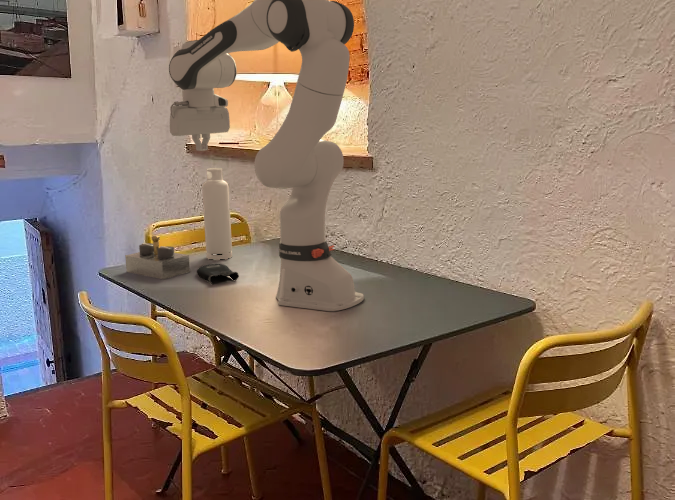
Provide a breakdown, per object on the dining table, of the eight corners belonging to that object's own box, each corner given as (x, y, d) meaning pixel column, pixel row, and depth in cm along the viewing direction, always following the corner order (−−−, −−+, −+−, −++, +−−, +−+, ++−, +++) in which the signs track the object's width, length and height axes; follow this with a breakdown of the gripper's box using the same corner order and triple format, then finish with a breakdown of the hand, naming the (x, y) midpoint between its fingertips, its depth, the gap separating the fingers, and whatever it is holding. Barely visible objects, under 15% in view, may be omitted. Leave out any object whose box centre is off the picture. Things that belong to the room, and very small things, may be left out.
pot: (162, 254, 201) (161, 236, 200) (156, 255, 199) (155, 237, 198) (157, 253, 202) (155, 235, 201) (151, 254, 200) (149, 236, 199)
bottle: (201, 257, 219) (195, 169, 213) (223, 253, 224) (218, 166, 218) (215, 261, 213) (210, 170, 207) (237, 257, 219) (232, 168, 212)
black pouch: (242, 286, 191) (224, 267, 204) (239, 268, 189) (221, 250, 201) (210, 295, 188) (193, 276, 200) (207, 277, 185) (190, 258, 198)
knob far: (160, 267, 204) (158, 243, 203) (148, 270, 201) (146, 246, 199) (150, 265, 207) (148, 241, 205) (137, 268, 203) (135, 244, 202)
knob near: (178, 271, 200) (177, 246, 198) (166, 274, 196) (164, 249, 195) (168, 269, 202) (166, 244, 201) (155, 272, 199) (153, 247, 197)
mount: (190, 271, 201) (188, 255, 200) (163, 279, 193) (161, 262, 192) (153, 265, 210) (152, 249, 209) (126, 272, 202) (125, 255, 201)
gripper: (178, 101, 184) (181, 153, 187) (232, 100, 200) (234, 148, 203) (162, 101, 188) (166, 152, 191) (216, 100, 204) (219, 147, 207)
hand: (202, 150), depth 197 cm, fingers closed
